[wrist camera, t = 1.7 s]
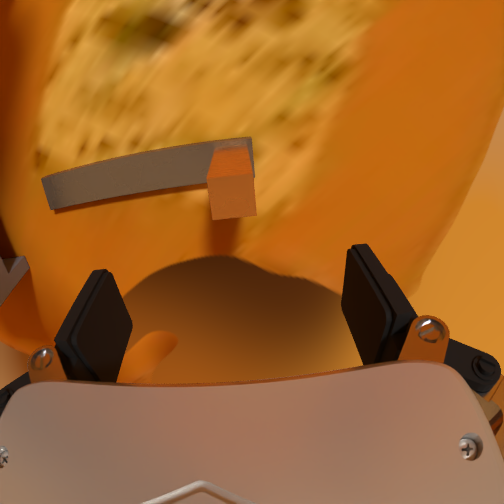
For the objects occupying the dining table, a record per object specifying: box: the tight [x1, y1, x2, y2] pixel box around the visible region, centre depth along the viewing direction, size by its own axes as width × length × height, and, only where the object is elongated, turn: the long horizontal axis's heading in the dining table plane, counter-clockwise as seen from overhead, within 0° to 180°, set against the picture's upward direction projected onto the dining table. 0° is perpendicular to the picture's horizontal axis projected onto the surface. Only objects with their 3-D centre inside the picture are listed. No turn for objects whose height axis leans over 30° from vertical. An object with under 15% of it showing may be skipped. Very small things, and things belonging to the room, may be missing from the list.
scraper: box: [41, 137, 257, 220], centre depth 24 cm, size 24×4×11 cm, turn 95°
